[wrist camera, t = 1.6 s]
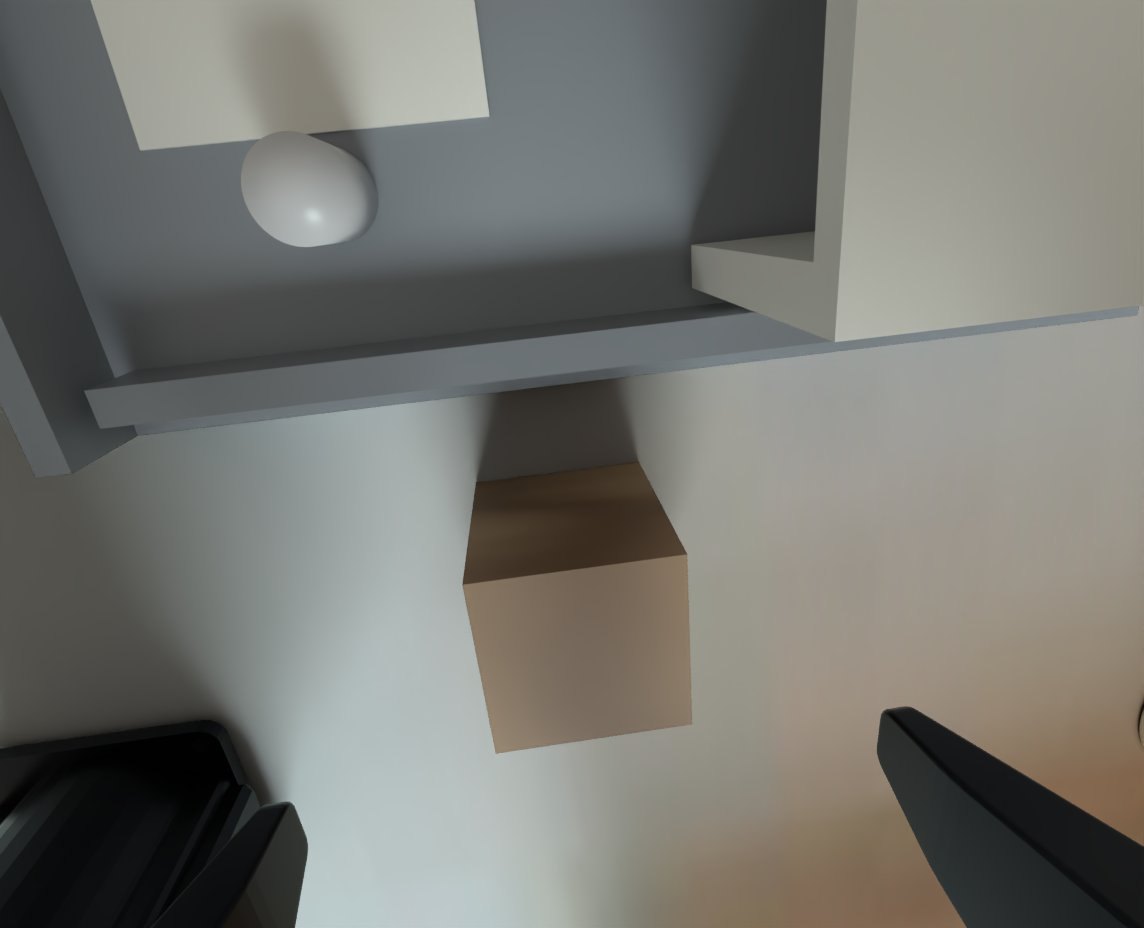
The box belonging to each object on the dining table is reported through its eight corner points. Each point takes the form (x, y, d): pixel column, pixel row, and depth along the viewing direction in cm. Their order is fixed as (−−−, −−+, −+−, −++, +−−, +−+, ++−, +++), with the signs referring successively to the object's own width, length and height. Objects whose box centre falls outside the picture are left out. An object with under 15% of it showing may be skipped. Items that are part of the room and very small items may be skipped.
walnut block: (499, 617, 16) (496, 753, 12) (476, 481, 15) (462, 584, 11) (646, 596, 16) (692, 724, 12) (638, 461, 15) (687, 554, 11)
